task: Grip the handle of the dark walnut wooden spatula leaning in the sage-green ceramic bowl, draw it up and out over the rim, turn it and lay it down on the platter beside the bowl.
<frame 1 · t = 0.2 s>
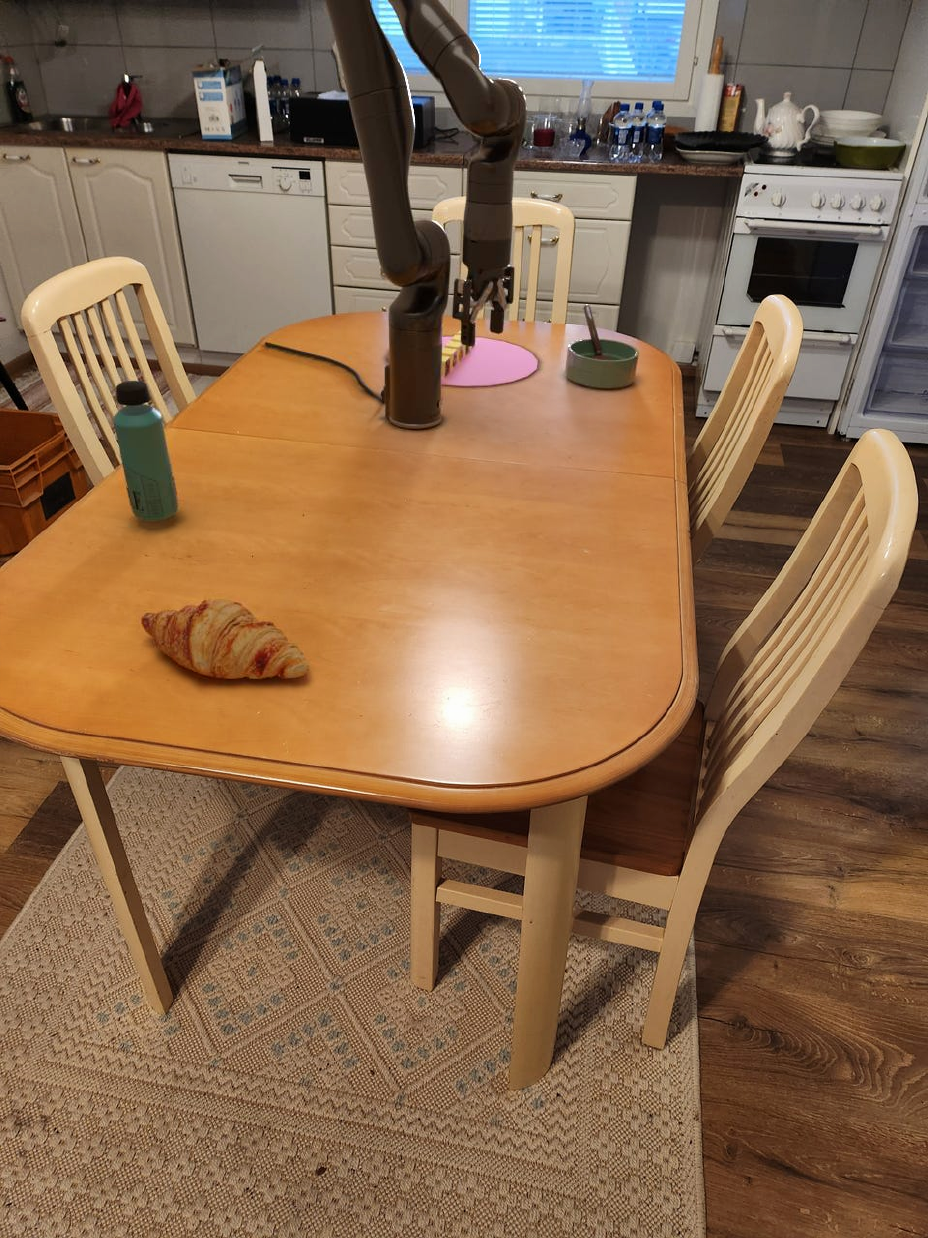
hand: (482, 338, 142), 17 cm above the table, tool pointing down, fingers open, 8 cm apart
beverage bottle: (157, 521, 124), on the table
bowl: (599, 378, 179), on the table
platter: (463, 360, 185), on the table
spatula: (596, 345, 179), point 5 cm above the table, touching bowl
croissant: (225, 661, 98), on the table
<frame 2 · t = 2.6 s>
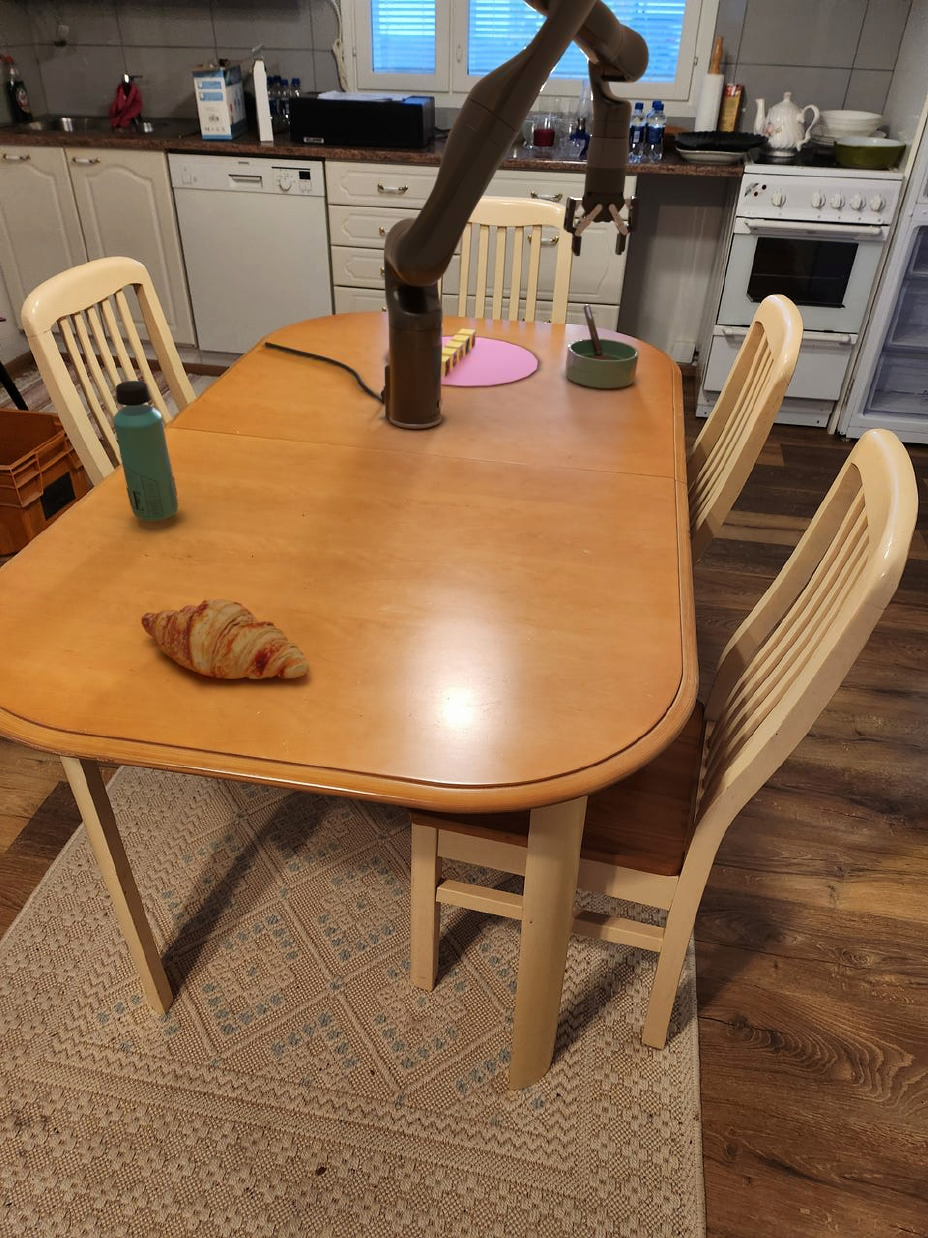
hand: (597, 254, 172), 23 cm above the table, tool pointing down, fingers open, 8 cm apart
nothing on the table moved.
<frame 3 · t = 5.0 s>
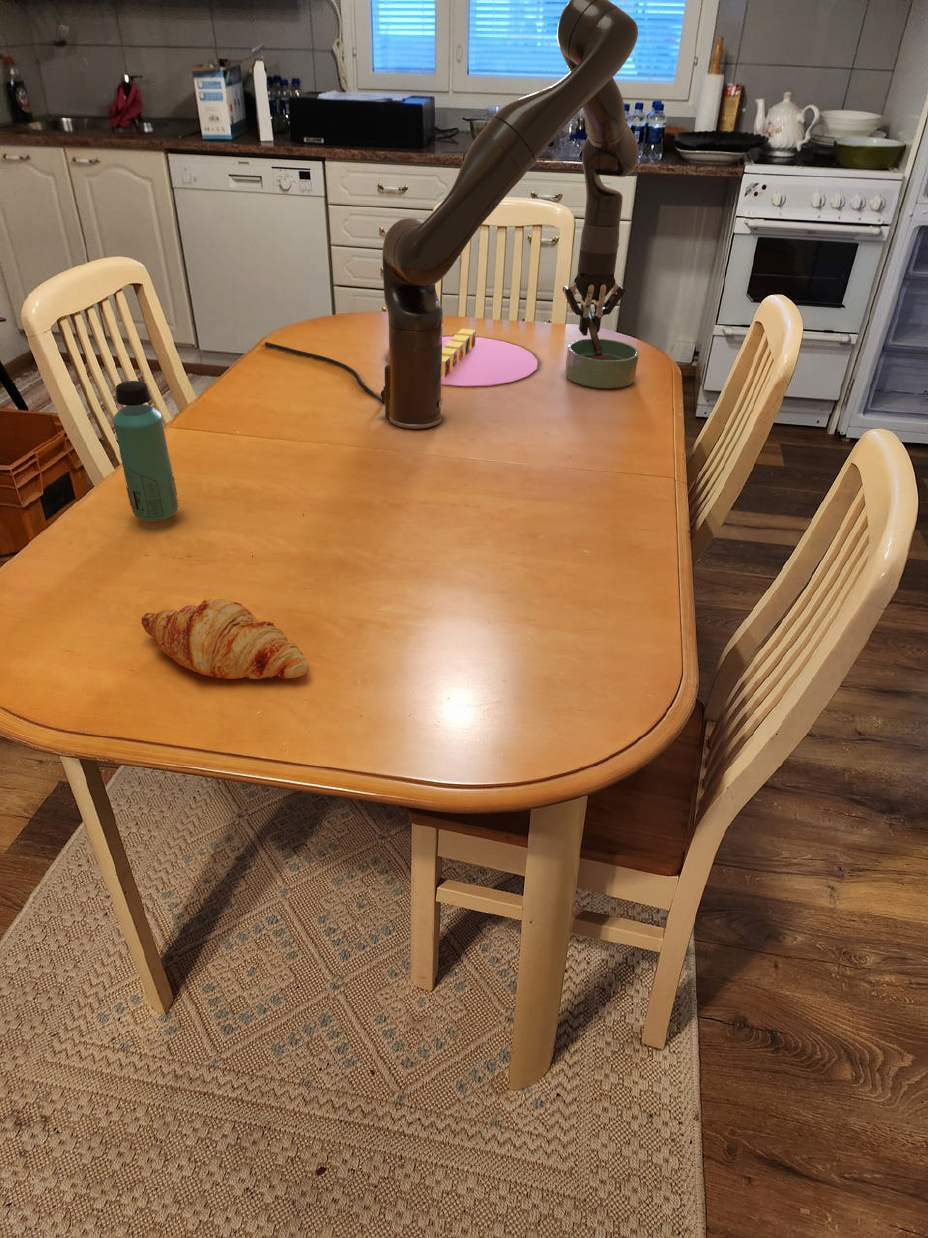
hand: (588, 334, 183), 6 cm above the table, tool pointing down, fingers closed on spatula
spatula: (596, 345, 179), point 5 cm above the table, touching bowl, gripper
everything else where it was.
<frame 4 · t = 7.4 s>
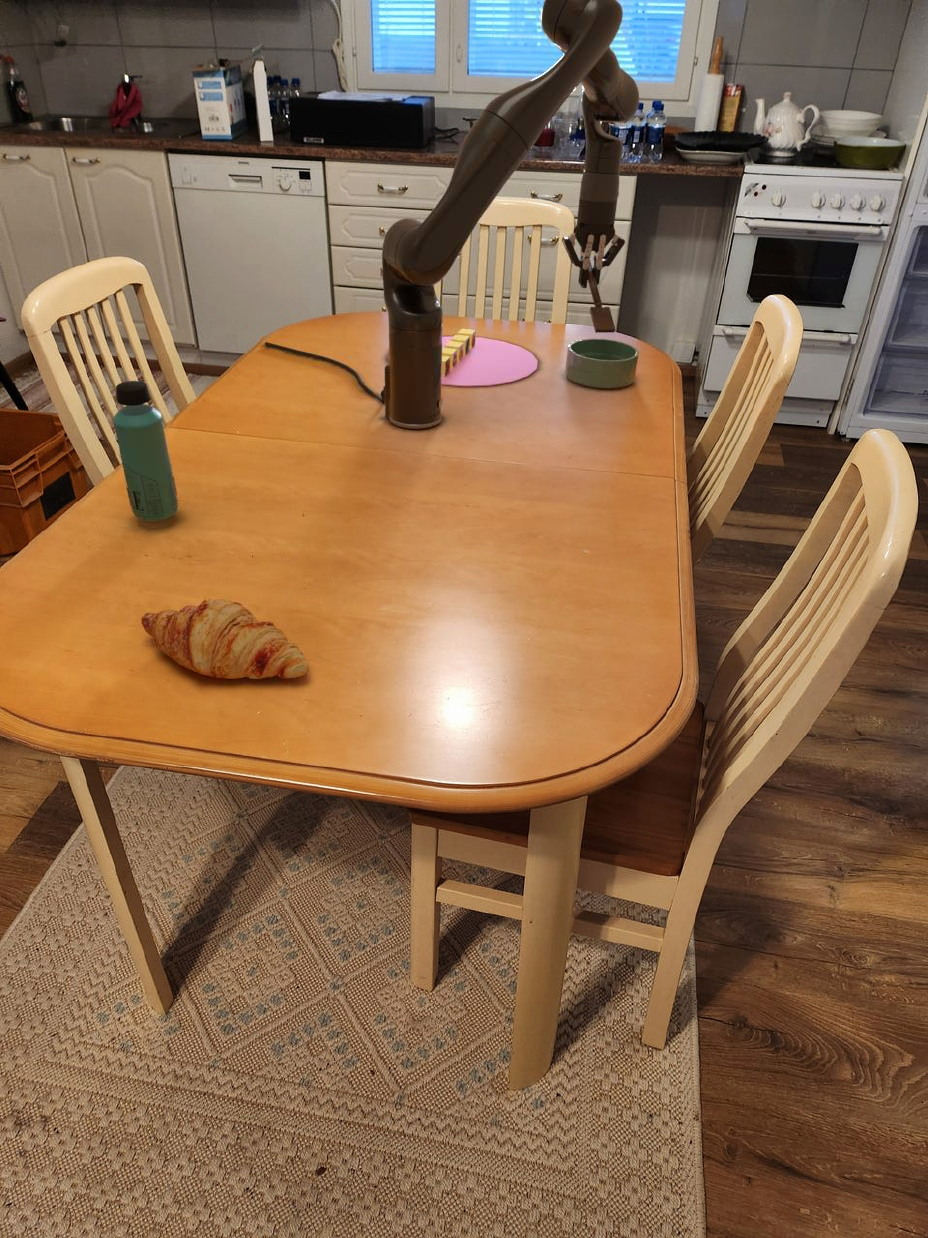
hand: (588, 286, 182), 15 cm above the table, tool pointing down, fingers closed on spatula
spatula: (596, 297, 177), point 14 cm above the table, touching gripper
everything else where it was.
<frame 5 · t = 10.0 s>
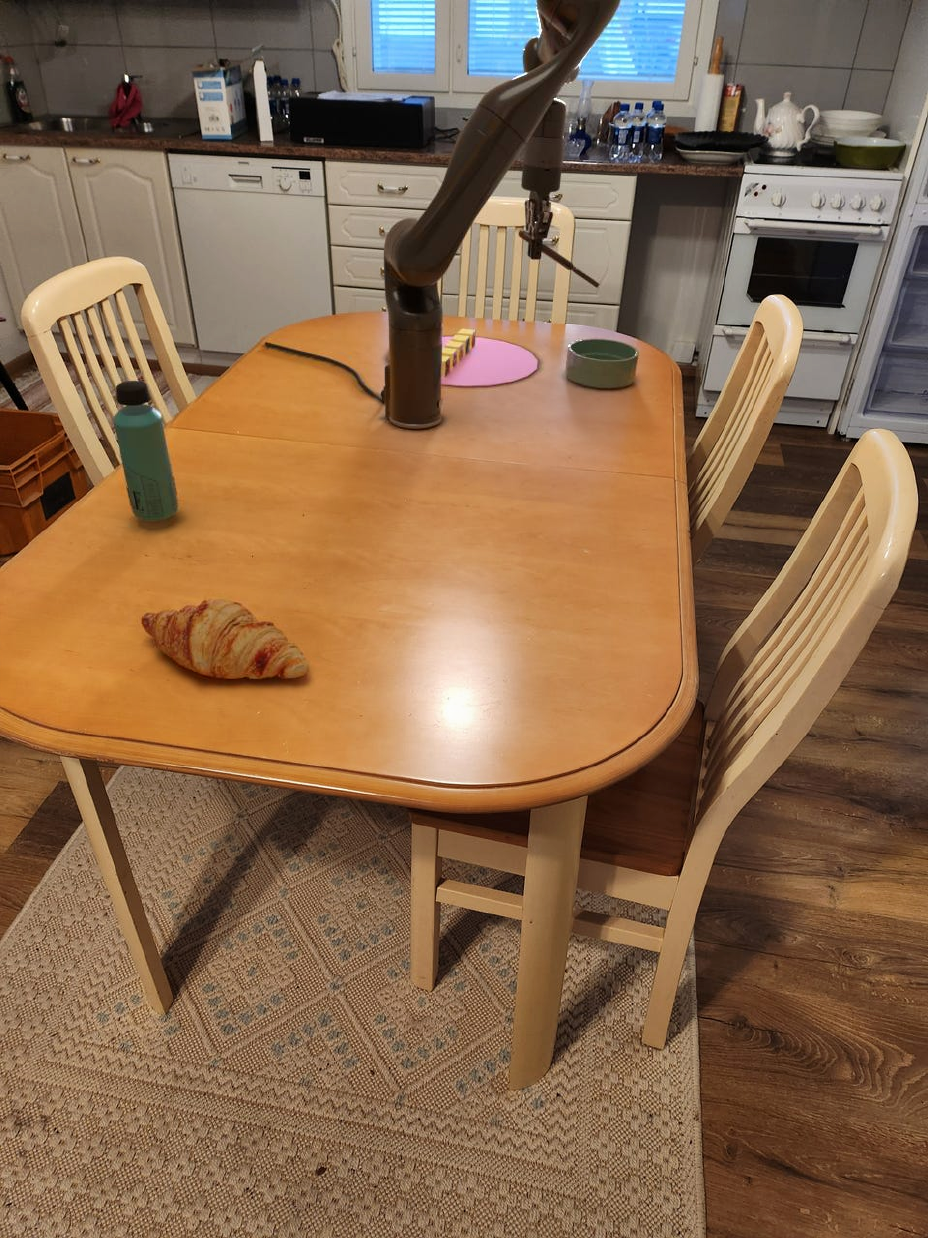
hand: (534, 257, 176), 21 cm above the table, tool pointing down, fingers closed on spatula
spatula: (562, 260, 177), point 20 cm above the table, touching gripper
everything else where it was.
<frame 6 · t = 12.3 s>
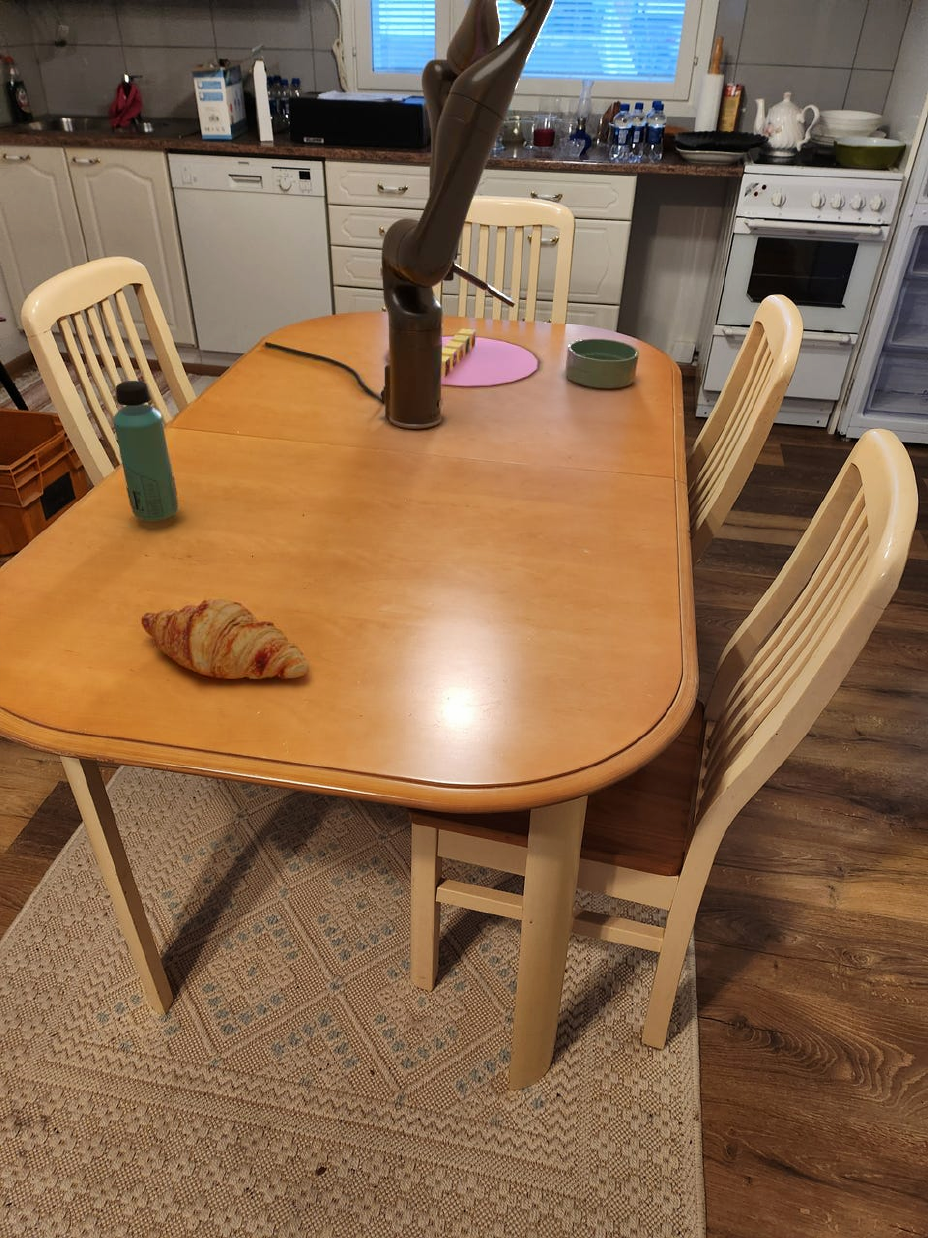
hand: (447, 278, 175), 17 cm above the table, tool pointing down, fingers closed on spatula
spatula: (475, 281, 176), point 16 cm above the table, touching gripper
everything else where it was.
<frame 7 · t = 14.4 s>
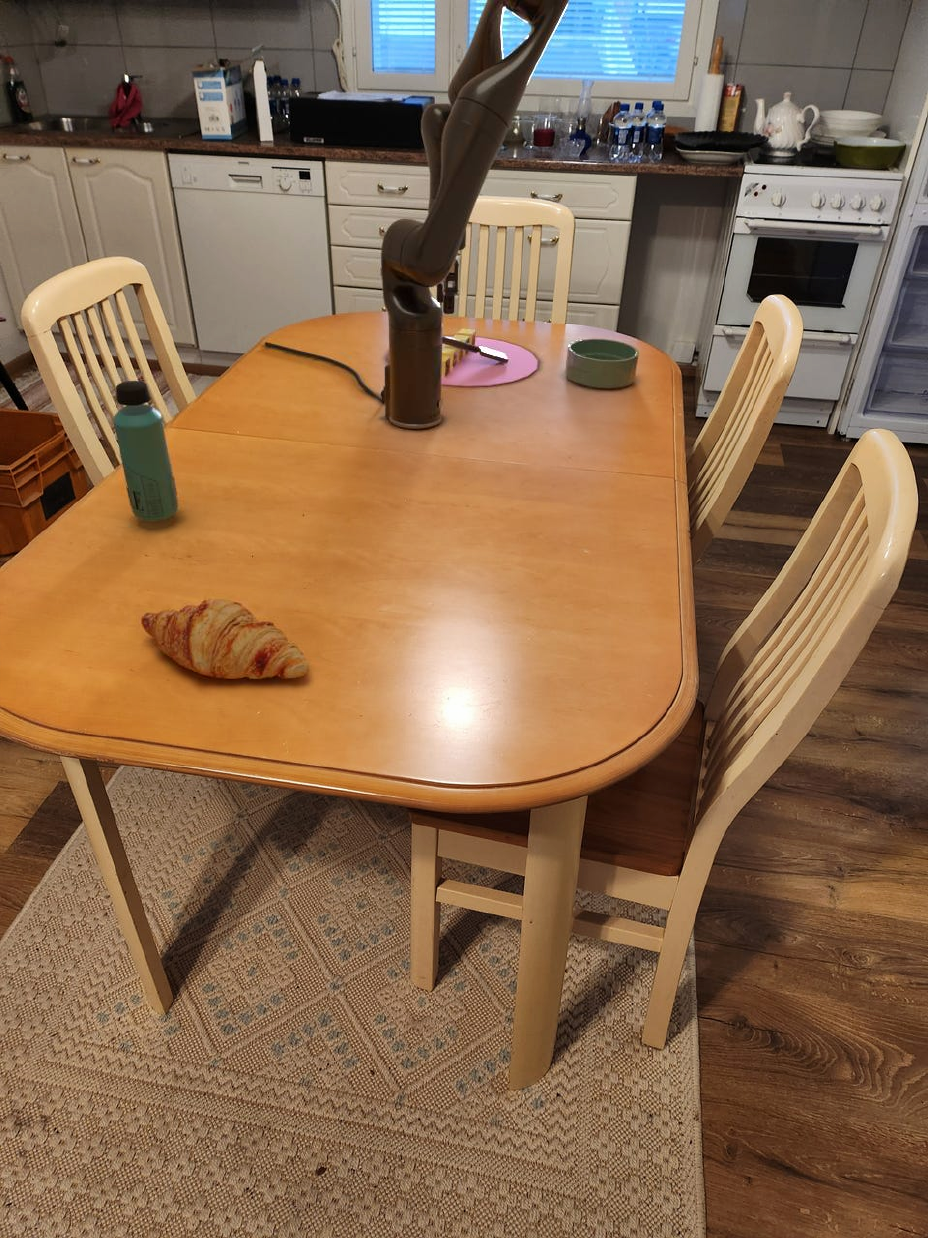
hand: (445, 307, 178), 11 cm above the table, tool pointing down, fingers open, 8 cm apart
platter: (463, 360, 185), on the table, touching spatula
spatula: (466, 346, 181), point 4 cm above the table, tilted 132°, touching platter
everything else where it was.
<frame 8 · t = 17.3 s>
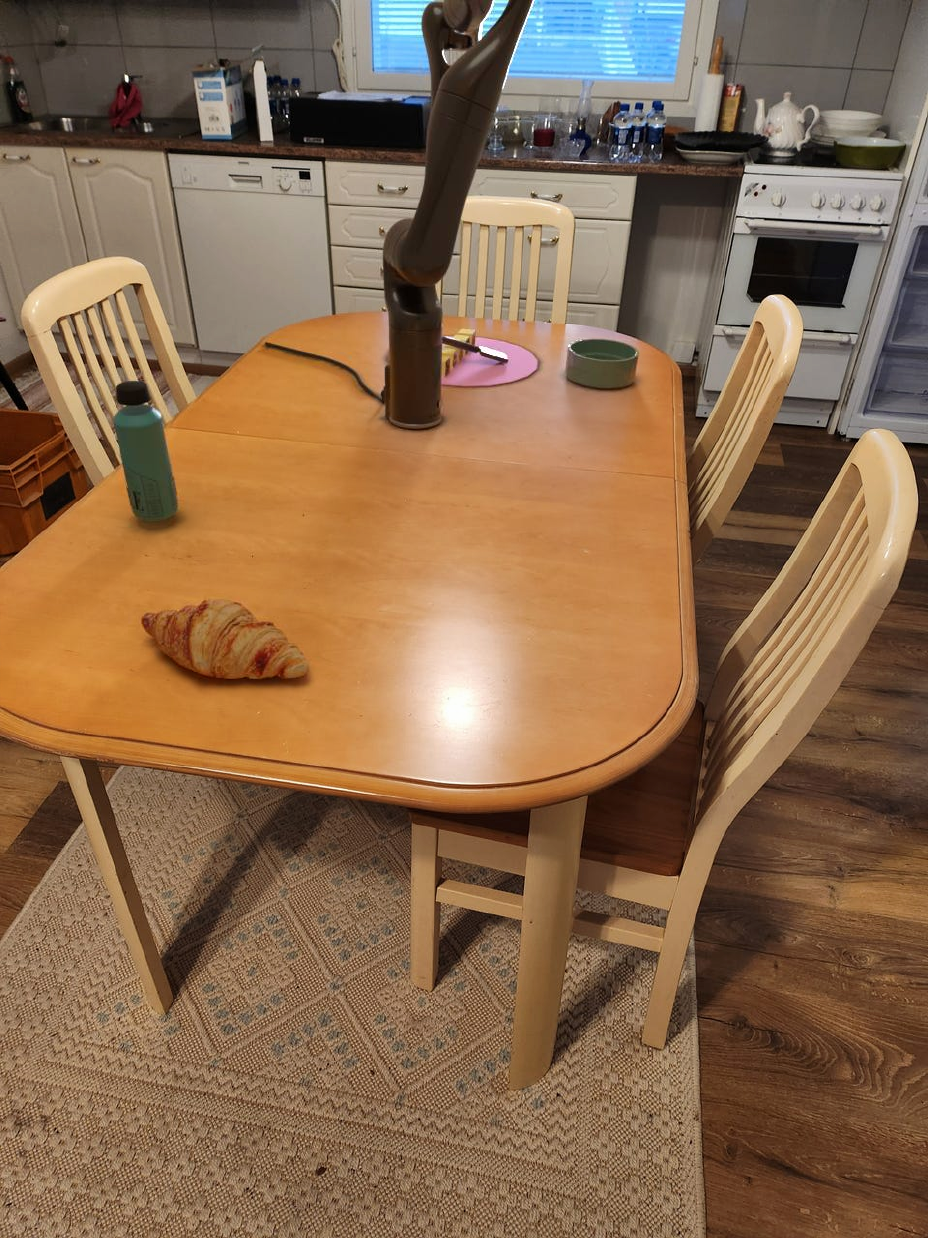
hand: (447, 228, 170), 26 cm above the table, tool pointing down, fingers open, 8 cm apart
nothing on the table moved.
at the end: spatula touching platter; spatula 2.6 cm from the platter (horizontally) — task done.
